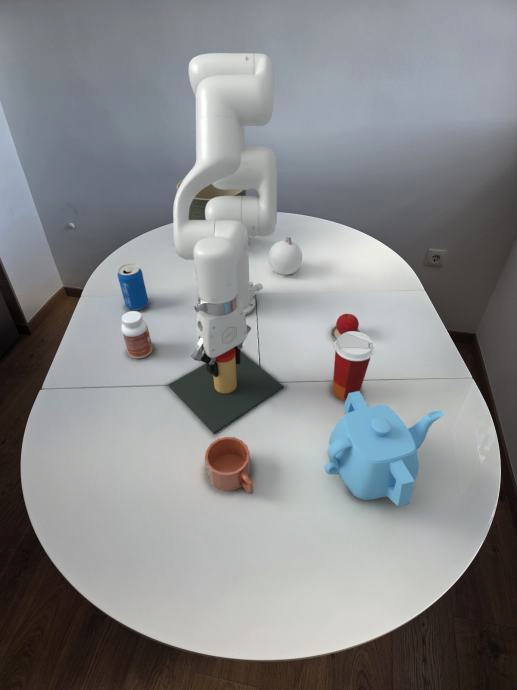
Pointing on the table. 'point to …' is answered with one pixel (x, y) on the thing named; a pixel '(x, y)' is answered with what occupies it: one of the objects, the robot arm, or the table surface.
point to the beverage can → (132, 286)
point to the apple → (344, 325)
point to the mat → (225, 406)
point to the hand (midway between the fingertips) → (224, 366)
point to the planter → (207, 199)
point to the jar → (226, 372)
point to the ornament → (285, 257)
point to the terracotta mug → (229, 464)
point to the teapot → (376, 450)
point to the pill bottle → (136, 335)
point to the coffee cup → (350, 362)
